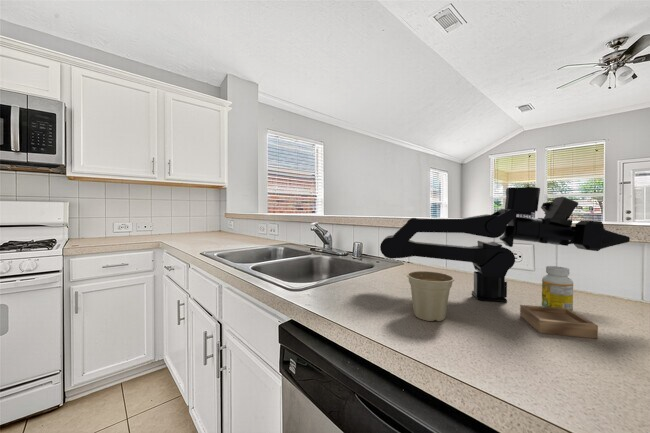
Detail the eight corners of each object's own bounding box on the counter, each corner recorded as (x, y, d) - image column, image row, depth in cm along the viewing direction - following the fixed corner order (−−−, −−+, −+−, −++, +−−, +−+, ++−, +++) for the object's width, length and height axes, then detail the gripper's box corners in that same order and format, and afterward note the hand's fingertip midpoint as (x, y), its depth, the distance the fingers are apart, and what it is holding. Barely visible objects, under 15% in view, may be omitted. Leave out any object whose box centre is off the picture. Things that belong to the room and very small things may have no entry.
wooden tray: (540, 332, 50) (540, 320, 50) (520, 315, 59) (520, 304, 59) (597, 338, 48) (597, 325, 48) (568, 319, 56) (568, 308, 56)
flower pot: (451, 311, 61) (451, 272, 61) (456, 328, 52) (457, 283, 52) (407, 306, 64) (407, 269, 64) (405, 321, 55) (405, 279, 55)
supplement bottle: (573, 316, 58) (574, 271, 58) (541, 310, 61) (541, 268, 61) (572, 309, 62) (573, 267, 62) (541, 304, 66) (542, 264, 65)
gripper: (558, 194, 58) (652, 200, 54) (522, 200, 76) (591, 205, 72) (552, 246, 59) (645, 256, 54) (517, 239, 77) (586, 247, 72)
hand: (613, 238), depth 63 cm, fingers open, 9 cm apart
